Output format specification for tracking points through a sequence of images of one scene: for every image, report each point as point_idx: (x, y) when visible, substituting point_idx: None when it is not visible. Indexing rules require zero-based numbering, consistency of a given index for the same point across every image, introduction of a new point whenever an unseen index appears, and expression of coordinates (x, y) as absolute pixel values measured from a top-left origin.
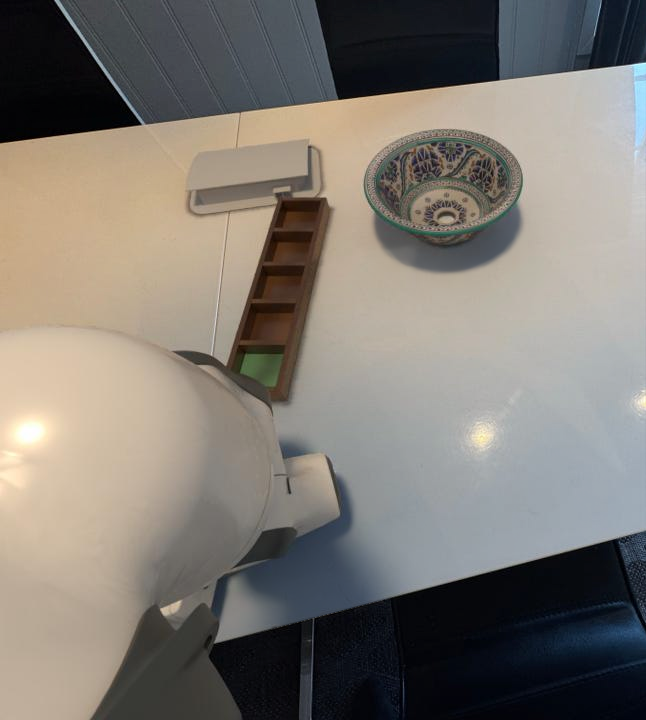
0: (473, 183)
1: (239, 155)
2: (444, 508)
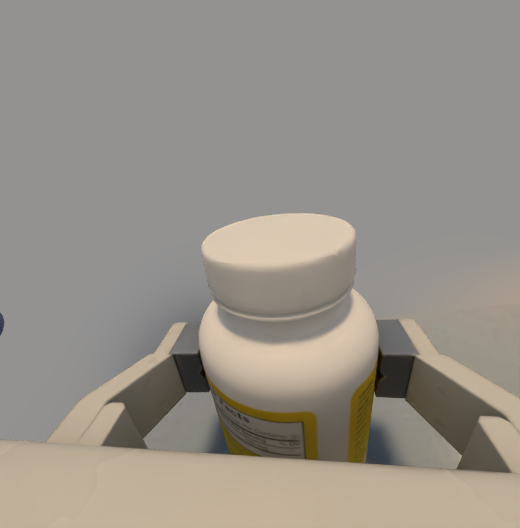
0: None
1: None
2: None
